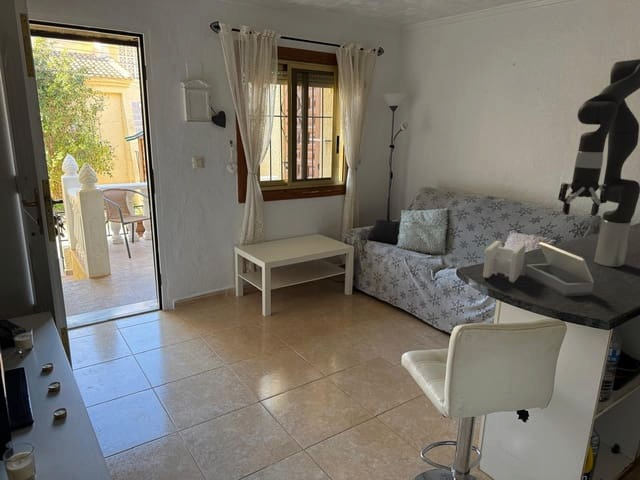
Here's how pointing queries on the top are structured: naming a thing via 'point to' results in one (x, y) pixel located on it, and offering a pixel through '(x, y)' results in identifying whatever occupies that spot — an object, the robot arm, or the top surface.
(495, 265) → the cable organizer
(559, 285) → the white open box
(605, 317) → the top surface
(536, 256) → the top surface
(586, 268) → the duct cover
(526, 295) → the top surface
